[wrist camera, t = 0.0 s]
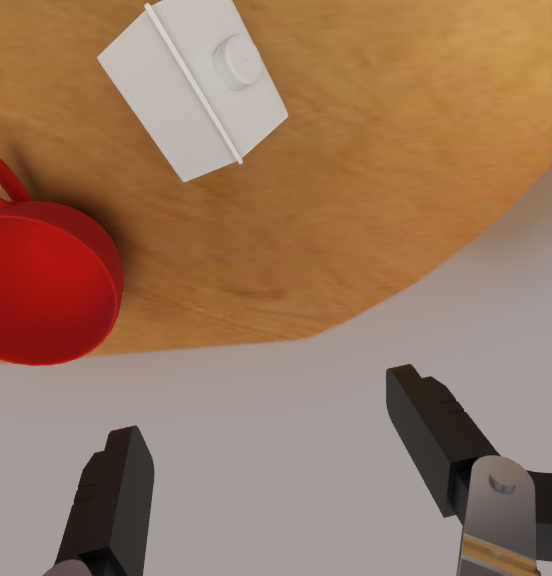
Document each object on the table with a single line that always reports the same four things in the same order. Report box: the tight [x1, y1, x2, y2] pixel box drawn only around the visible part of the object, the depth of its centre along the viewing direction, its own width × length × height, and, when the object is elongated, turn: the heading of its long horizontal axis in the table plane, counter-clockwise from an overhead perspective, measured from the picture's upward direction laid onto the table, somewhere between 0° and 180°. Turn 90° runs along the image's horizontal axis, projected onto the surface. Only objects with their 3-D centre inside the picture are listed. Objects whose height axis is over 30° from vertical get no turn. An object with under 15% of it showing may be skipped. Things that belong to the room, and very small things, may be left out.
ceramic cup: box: [0, 159, 123, 366], centre depth 33 cm, size 13×17×10 cm
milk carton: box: [97, 0, 288, 182], centre depth 25 cm, size 7×7×19 cm
